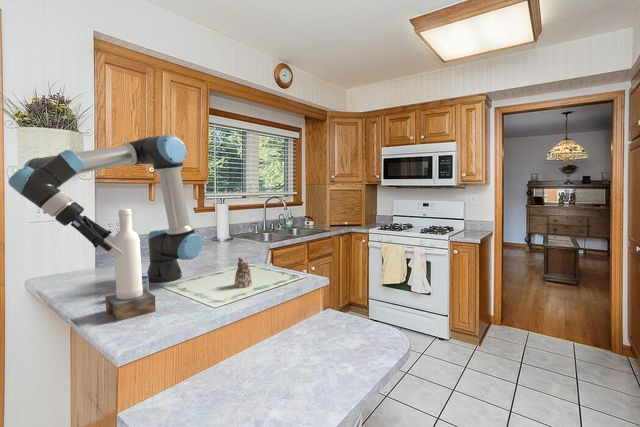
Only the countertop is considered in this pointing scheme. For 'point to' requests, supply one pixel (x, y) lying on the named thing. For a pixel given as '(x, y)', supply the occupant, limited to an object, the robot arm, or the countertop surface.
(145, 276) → the medicine box
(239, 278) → the figurine
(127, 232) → the bottle
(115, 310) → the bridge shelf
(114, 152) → the robot arm
